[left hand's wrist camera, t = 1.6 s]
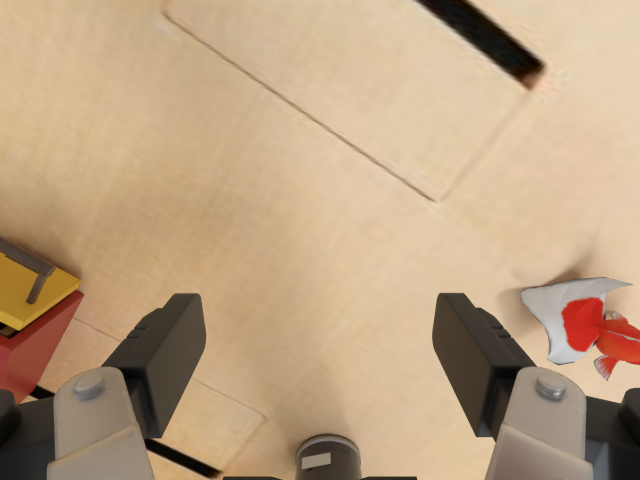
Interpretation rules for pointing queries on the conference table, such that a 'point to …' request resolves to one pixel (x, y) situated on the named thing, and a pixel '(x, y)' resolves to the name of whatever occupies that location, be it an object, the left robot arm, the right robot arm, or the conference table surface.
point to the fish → (583, 322)
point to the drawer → (28, 287)
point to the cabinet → (34, 348)
